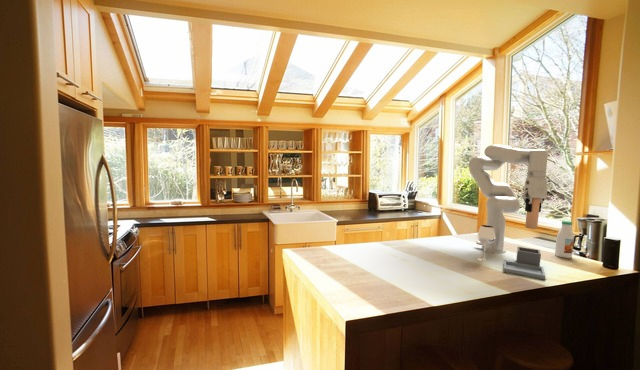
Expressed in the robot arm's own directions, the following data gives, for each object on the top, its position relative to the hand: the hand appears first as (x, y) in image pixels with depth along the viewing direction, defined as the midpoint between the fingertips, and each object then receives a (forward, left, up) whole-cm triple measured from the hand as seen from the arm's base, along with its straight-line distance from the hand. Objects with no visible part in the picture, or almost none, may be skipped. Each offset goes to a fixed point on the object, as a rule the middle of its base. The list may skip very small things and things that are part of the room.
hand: (532, 211), depth 160 cm
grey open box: (0, +1, -27) cm, 27 cm away
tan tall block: (0, 0, -8) cm, 8 cm away
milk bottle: (+18, +34, -28) cm, 47 cm away
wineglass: (-19, -6, -28) cm, 34 cm away
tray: (-2, -13, -27) cm, 31 cm away
